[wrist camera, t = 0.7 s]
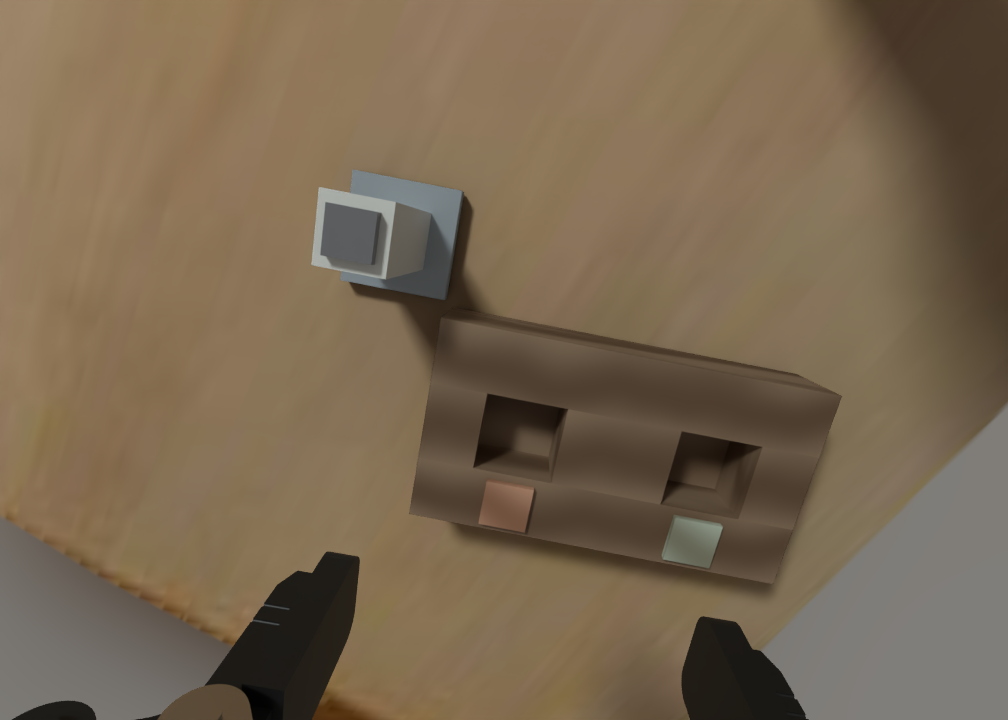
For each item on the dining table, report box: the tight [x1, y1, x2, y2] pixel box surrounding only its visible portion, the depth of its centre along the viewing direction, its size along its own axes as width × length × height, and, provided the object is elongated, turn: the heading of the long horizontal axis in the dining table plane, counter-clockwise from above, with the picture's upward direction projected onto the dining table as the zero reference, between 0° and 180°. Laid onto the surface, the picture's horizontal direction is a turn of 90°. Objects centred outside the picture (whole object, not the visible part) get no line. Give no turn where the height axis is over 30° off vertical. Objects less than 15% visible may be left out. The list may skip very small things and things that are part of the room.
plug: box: [312, 187, 431, 280], centre depth 27 cm, size 4×4×10 cm
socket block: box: [409, 307, 842, 584], centre depth 33 cm, size 13×24×5 cm, turn 79°
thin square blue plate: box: [341, 170, 464, 300], centre depth 33 cm, size 7×7×1 cm
